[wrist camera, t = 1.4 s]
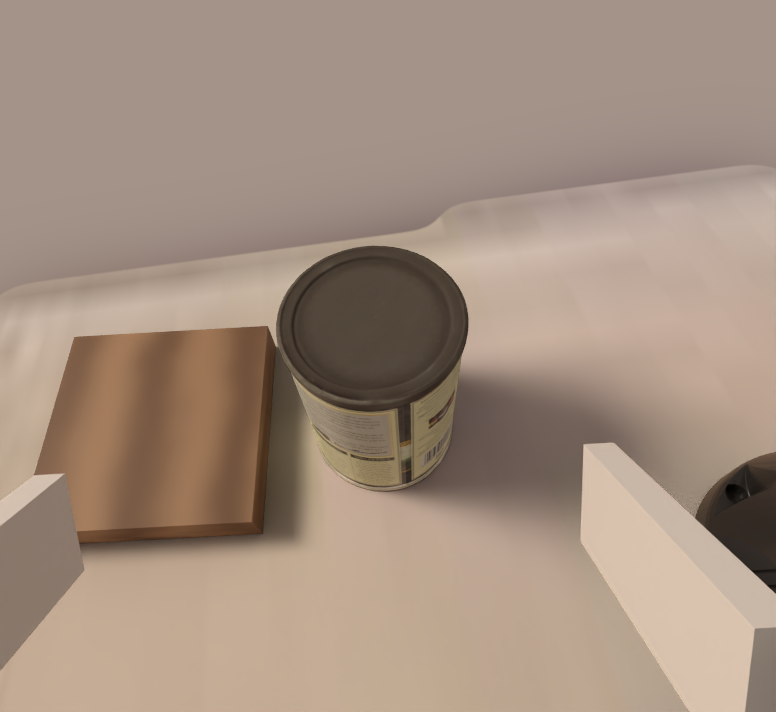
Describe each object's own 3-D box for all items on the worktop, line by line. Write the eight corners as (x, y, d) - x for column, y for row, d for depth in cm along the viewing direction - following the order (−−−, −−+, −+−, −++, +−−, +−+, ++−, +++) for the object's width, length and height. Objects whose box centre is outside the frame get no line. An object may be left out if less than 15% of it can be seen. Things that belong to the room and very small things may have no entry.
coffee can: (334, 356, 45) (306, 233, 33) (461, 377, 44) (480, 257, 32) (297, 477, 40) (248, 384, 28) (439, 506, 39) (452, 421, 27)
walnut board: (275, 346, 46) (267, 326, 43) (262, 533, 38) (251, 521, 36) (93, 356, 46) (74, 336, 44) (43, 545, 38) (16, 534, 36)
